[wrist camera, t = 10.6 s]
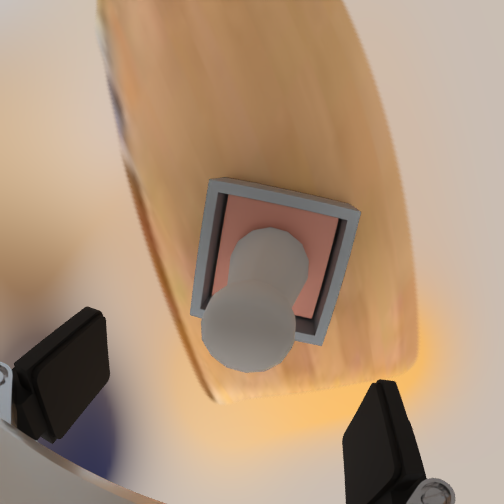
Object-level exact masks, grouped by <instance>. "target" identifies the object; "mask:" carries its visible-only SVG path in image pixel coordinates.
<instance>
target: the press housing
mask: <svg viewBox="0 0 504 504" xmlns="http://www.w3.org/2000/svg"><path fill="white" fill-rule="evenodd" d="M228 194H230V195H235V196H241V197H246V198H250V199H255V200H260V201H265V202H270V203H275V204H279V205H284V206H288V207H293V208H297V209H302V210H306V211H311V212H315V213H319V214H324V215H328V216H332V217H336V218H339V219H338V224H337V228H336V232H335V236H334V240H333V244H332V248H331V252H330V255H329V259H328V263H327V267H326V270H325V274H324V278H323V281H322V285H321V289H320V292H319V296H318V299H317V302H316V306H315V309H314V313H313V316H312V319H311V318H306V317H301V316H296V315H295V319H296V327H295V341H299V342H304V343H309V344H314V345H319V346H322V344H323V341H324V338H325V335H326V332H327V329H328V326H329V323H330V320H331V317H332V314H333V311H334V307H335V304H336V301H337V298H338V295H339V291H340V288H341V285H342V281H343V278H344V274H345V271H346V267H347V264H348V260H349V257H350V253H351V249H352V246H353V242H354V238H355V234H356V230H357V226H358V222H359V218H360V214H361V212H360V211H359V210H358V209H356V208H355V207H353V206H352V205H351V204H348V203H344V202H339V201H335V200H331V199H327V198H323V197H318V196H314V195H310V194H305V193H301V192H296V191H292V190H287V189H282V188H278V187H273V186H268V185H263V184H258V183H253V182H248V181H243V180H237V179H232V178H227V177H223V178H215V179H209V184H208V190H207V196H206V202H205V208H204V215H203V221H202V228H201V234H200V241H199V248H198V255H197V262H196V270H195V277H194V285H193V293H192V301H191V309H190V315H191V316H195V317H199V318H202V317H203V314H204V312H205V310H206V307H207V305H208V303H209V301H210V299H211V298H212V291H213V284H214V278H215V272H216V265H217V259H218V253H219V247H220V241H221V235H222V229H223V223H224V217H225V211H226V205H227V200H228Z"/></svg>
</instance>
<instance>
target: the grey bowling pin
mask: <svg viewBox="0 0 504 504" xmlns="http://www.w3.org/2000/svg"><path fill="white" fill-rule="evenodd" d="M308 267H309V260H308V257H307V255H306V252H305V250H304V248H303V245H302V244H301V243H300V242H299V241H298V240H297V239H296V238H294V237H293V236H292V235H291V234H290V233H289V232H287V231H283V230H280V229H276V228H273V227H268V228H263V229H257V230H253V231H251V232H250V233H248V234H247V235H246V236H244V237H243V238H242V239H240V240H239V241H238V242H237V244H236V246H235V248H234V250H233V252H232V254H231V256H230V265H229V274H228V283H227V286H225V287H224V288H222V289H221V290H219V291H218V292H216V293H215V294H214V295H213V296H212V298H211V299H210V301H209V303H208V305H207V307H206V310H205V312H204V314H203V317H202V321H201V330H202V341H203V342H204V344H205V346H206V347H207V349H208V351H209V352H210V354H211V356H213V357H214V358H215V359H216V360H218V361H219V362H220V363H222V364H223V365H224V366H226V367H227V368H231V369H234V370H238V371H241V372H245V373H249V372H262V371H266V370H268V369H270V368H272V367H274V366H276V365H278V364H279V363H281V362H282V361H283V359H284V358H285V357H286V355H287V354H288V352H289V351H290V350H291V348H292V346H293V344H294V341H295V327H296V319H295V315H294V312H293V310H292V307H293V305H294V303H295V301H296V299H297V297H298V296H299V294H300V292H301V290H302V288H303V286H304V284H305V283H306V281H307V279H308Z"/></svg>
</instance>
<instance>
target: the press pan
mask: <svg viewBox="0 0 504 504" xmlns="http://www.w3.org/2000/svg"><path fill="white" fill-rule="evenodd" d="M338 219H339V218H336V217H332V216H328V215H324V214H319V213H315V212H311V211H306V210H302V209H297V208H293V207H288V206H284V205H279V204H275V203H270V202H265V201H260V200H255V199H250V198H246V197H241V196H235V195H230V194H228V200H227V205H226V211H225V217H224V223H223V229H222V235H221V241H220V247H219V253H218V259H217V265H216V272H215V278H214V284H213V291H212V296H213V295H214V294H215V293H216V292H218V291H219V290H221V289H222V288H224V287H225V286H227V283H228V274H229V265H230V256H231V254H232V252H233V250H234V248H235V246H236V244H237V242H238V241H239V240H240V239H242V238H243V237H244V236H246V235H247V234H248V233H250V232H251V231H253V230H257V229H263V228H268V227H273V228H276V229H280V230H283V231H287V232H289V233H290V234H291V235H292V236H293V237H294V238H296V239H297V240H298V241H299V242H300V243H301V244H302V245H303V248H304V250H305V252H306V255H307V257H308V260H309V267H308V279H307V281H306V283H305V284H304V286H303V288H302V290H301V292H300V294H299V296H298V297H297V299H296V301H295V303H294V305H293V307H292V310H293V312H294V315H296V316H301V317H306V318H311V319H312V316H313V313H314V309H315V306H316V302H317V299H318V296H319V292H320V289H321V285H322V281H323V278H324V274H325V270H326V267H327V263H328V259H329V255H330V252H331V248H332V244H333V240H334V236H335V232H336V228H337V224H338Z"/></svg>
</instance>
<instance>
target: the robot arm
mask: <svg viewBox="0 0 504 504" xmlns="http://www.w3.org/2000/svg"><path fill="white" fill-rule="evenodd" d="M14 366H15V367H14V368H13V369H12V370H11V368H10V367H9V366H8V365H7V364H5V363H3V362H0V504H165V503H163V502H160V501H157V500H154V499H151V498H149V497H146V496H143V495H141V494H138V493H136V492H133V491H130V490H128V489H126V488H124V487H121V486H119V485H117V484H114V483H112V482H110V481H108V480H106V479H104V478H101V477H99V476H97V475H95V474H93V473H91V472H89V471H87V470H85V469H83V468H82V467H79V466H78V465H76V464H74V463H72V462H70V461H69V460H67V459H65V458H63V457H62V456H60V455H58V454H56V453H55V452H53V451H51V450H50V449H48V448H46V447H45V446H43V445H41V444H40V443H38V442H37V440H38V439H39V437H40V436H41V437H42V438H44V439H45V440H47V441H49V442H50V443H52V444H53V443H54V442H55V441H56V439H61V438H62V437H63V436H64V435H65V434H66V432H67V431H68V430H69V429H70V427H71V426H72V425H73V424H74V422H75V421H76V420H77V419H78V417H79V416H80V415H81V414H82V412H83V411H84V410H85V409H86V407H87V406H88V404H90V402H91V401H92V400H93V399H94V398H95V396H96V395H97V394H98V393H99V391H100V390H101V389H102V388H103V387H104V385H105V384H106V383H107V382H108V380H109V376H110V370H109V360H108V347H107V332H106V319H105V317H103V314H102V312H101V311H99V310H96V309H93V308H90V307H85V308H84V309H82V310H81V311H80V312H78V313H77V314H76V315H74V316H73V317H72V318H70V319H69V320H68V321H67V322H65V323H64V324H63V325H61V326H60V327H59V328H58V329H56V330H55V331H54V332H52V333H51V334H50V335H49V336H47V337H46V338H45V339H43V340H42V341H41V342H40V343H38V344H37V345H36V346H35V347H33V348H32V349H31V350H30V351H28V352H27V353H26V354H25V355H24V356H22V357H21V358H20V359H19V360H17V361H16V362H15V363H14ZM342 445H343V458H344V472H345V473H344V474H345V492H346V504H454V503H455V493H454V491H453V489H452V487H451V486H450V485H449V484H448V483H446V482H445V481H443V480H441V479H436V478H431V479H427V478H426V474H425V471H424V467H423V463H422V460H421V456H420V453H419V449H418V446H417V443H416V439H415V436H414V433H413V430H412V426H411V424H410V421H409V420H408V417H407V415H406V411H405V409H404V405H403V402H402V399H401V396H400V393H399V390H398V387H397V385H396V382H394V381H389V380H381V379H380V380H378V381H377V382H376V383H372V384H371V386H370V388H369V390H368V392H367V393H366V395H365V397H364V399H363V401H362V403H361V405H360V407H359V408H358V411H357V412H356V414H355V416H354V417H353V419H352V421H351V423H350V424H349V426H348V428H347V430H346V432H345V433H344V436H343V441H342Z"/></svg>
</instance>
